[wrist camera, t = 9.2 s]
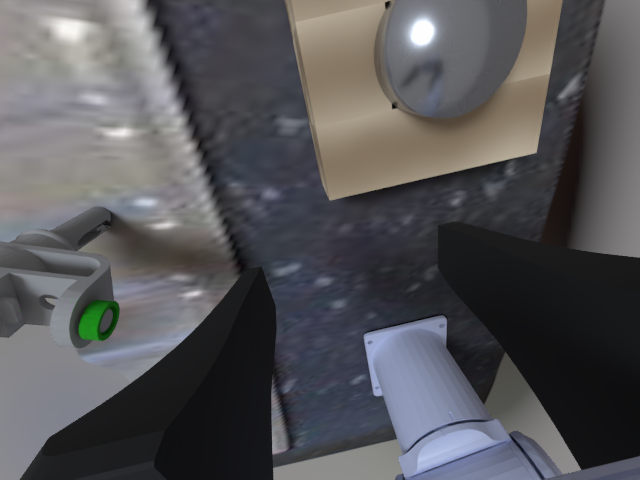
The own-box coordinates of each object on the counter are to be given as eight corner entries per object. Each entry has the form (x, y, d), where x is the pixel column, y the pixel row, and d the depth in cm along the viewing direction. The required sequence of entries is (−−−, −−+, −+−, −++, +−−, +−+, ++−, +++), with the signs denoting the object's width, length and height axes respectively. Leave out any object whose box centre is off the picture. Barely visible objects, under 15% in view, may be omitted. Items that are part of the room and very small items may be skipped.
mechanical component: (182, 248, 20) (98, 366, 11) (15, 225, 18) (-255, 347, 9) (182, 210, 19) (88, 309, 10) (3, 181, 17) (-324, 272, 8)
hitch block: (489, 143, 19) (536, 152, 15) (321, 181, 19) (329, 200, 15) (511, -109, 13) (594, -186, 10) (273, -56, 13) (269, -114, 10)
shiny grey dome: (449, 102, 17) (516, 102, 12) (362, 122, 17) (393, 130, 12) (452, -14, 14) (539, -75, 9) (349, 9, 14) (382, -40, 9)
